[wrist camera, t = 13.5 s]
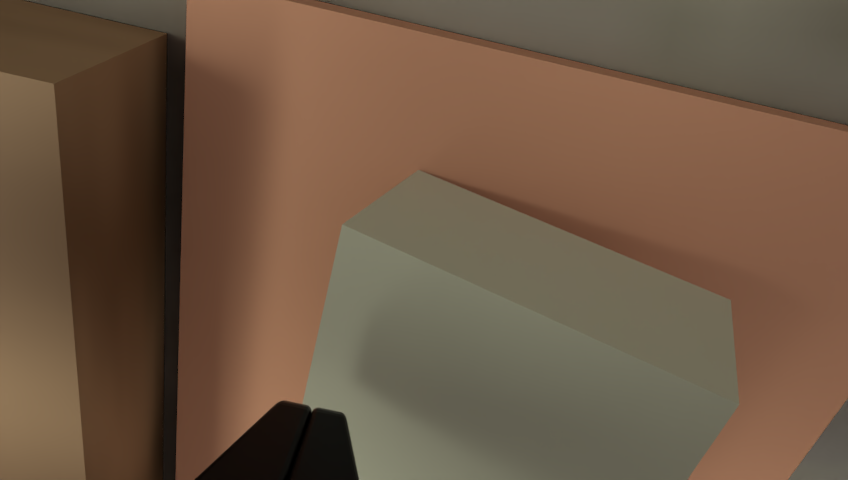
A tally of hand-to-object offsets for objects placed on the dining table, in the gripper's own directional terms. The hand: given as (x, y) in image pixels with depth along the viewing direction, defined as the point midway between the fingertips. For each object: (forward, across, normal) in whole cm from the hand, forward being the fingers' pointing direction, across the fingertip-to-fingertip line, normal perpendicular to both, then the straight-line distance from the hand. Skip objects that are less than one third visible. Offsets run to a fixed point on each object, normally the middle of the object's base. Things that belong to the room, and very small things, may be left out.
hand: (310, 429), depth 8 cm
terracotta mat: (+4, -3, +6) cm, 8 cm away
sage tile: (0, -2, +1) cm, 2 cm away
